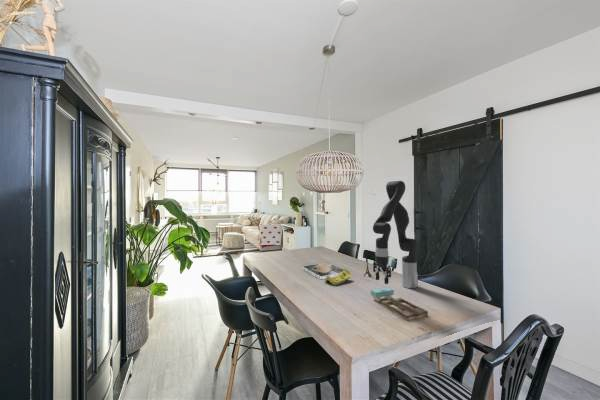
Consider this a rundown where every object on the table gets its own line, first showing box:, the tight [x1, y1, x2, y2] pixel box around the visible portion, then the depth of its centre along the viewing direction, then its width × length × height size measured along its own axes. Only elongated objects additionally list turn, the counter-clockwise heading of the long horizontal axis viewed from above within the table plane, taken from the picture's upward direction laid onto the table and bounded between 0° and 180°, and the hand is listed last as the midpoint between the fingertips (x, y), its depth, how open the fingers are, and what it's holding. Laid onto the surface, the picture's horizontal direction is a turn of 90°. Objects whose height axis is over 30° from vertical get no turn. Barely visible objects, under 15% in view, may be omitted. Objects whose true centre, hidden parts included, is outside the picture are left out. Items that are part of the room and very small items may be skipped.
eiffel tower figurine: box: [363, 260, 374, 278], centre depth 211 cm, size 15×10×13 cm
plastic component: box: [324, 268, 352, 286], centre depth 198 cm, size 20×7×10 cm
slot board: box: [380, 297, 429, 321], centre depth 146 cm, size 14×20×2 cm
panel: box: [370, 286, 395, 302], centre depth 163 cm, size 13×5×6 cm, turn 110°
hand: (381, 281), depth 163 cm, fingers open, 8 cm apart
